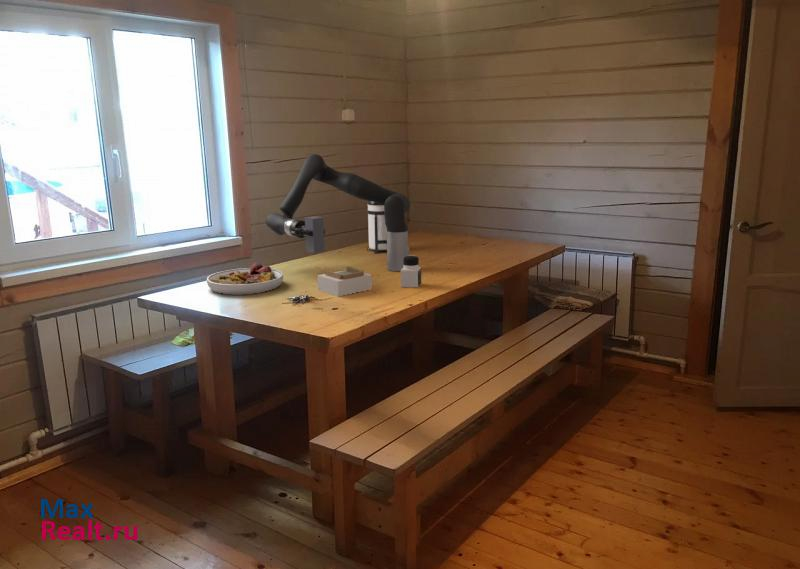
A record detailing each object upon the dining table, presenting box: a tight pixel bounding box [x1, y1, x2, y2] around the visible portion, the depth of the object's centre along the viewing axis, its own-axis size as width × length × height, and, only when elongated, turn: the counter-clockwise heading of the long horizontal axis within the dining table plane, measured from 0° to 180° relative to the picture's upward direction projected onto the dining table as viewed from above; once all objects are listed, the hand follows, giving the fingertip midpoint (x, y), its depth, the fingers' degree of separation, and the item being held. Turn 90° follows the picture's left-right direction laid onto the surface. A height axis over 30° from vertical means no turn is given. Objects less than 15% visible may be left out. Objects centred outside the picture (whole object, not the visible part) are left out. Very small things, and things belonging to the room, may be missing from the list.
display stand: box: [317, 266, 373, 298], centre depth 263 cm, size 16×14×8 cm
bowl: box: [206, 262, 284, 296], centre depth 270 cm, size 30×30×8 cm
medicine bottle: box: [400, 254, 422, 288], centre depth 268 cm, size 7×7×12 cm
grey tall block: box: [304, 215, 326, 254], centre depth 274 cm, size 5×6×14 cm
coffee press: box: [366, 201, 387, 254], centre depth 337 cm, size 17×16×30 cm
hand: (318, 232), depth 271 cm, fingers closed on grey tall block, 5 cm apart
